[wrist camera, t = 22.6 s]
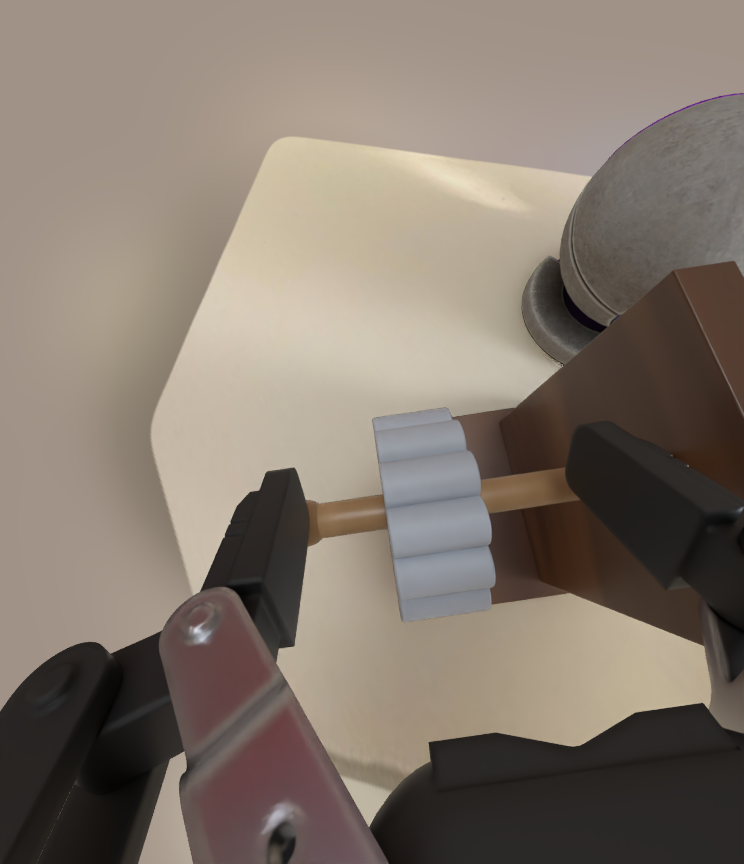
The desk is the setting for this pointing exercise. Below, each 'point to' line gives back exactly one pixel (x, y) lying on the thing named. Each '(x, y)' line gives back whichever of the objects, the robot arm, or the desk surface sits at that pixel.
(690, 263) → the webcam
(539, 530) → the rack
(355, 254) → the desk surface
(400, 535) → the grey scalloped ring
